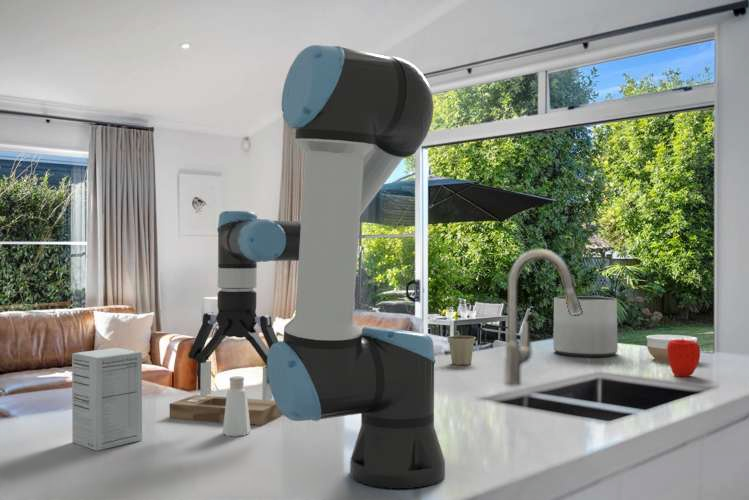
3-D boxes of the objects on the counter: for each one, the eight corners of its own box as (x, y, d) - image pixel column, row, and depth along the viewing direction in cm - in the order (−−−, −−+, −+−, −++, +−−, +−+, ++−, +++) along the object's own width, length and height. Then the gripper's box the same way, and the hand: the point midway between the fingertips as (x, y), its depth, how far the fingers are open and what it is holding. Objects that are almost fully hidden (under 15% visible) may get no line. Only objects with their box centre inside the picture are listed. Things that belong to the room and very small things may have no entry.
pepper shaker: (223, 437, 133) (223, 380, 133) (221, 430, 138) (222, 375, 138) (251, 435, 134) (252, 378, 134) (249, 429, 139) (249, 374, 139)
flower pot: (444, 365, 221) (444, 338, 221) (449, 361, 230) (449, 335, 230) (473, 366, 219) (473, 339, 219) (477, 362, 228) (477, 336, 228)
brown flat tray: (262, 425, 142) (262, 409, 142) (169, 417, 149) (169, 402, 149) (282, 414, 152) (282, 400, 152) (195, 408, 158) (195, 394, 158)
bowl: (635, 358, 238) (635, 335, 238) (674, 356, 243) (674, 333, 243) (668, 365, 223) (668, 340, 223) (708, 363, 228) (708, 338, 228)
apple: (706, 377, 200) (706, 340, 200) (683, 379, 197) (683, 341, 197) (682, 372, 208) (682, 336, 208) (660, 374, 205) (660, 337, 205)
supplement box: (117, 432, 136) (117, 347, 136) (143, 440, 130) (144, 351, 131) (70, 442, 129) (70, 352, 129) (95, 451, 123) (96, 356, 123)
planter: (576, 348, 265) (576, 295, 265) (629, 354, 248) (629, 298, 248) (540, 353, 251) (540, 297, 251) (595, 360, 234) (595, 300, 234)
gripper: (303, 290, 136) (302, 398, 136) (192, 286, 144) (191, 388, 144) (287, 292, 129) (285, 406, 129) (171, 288, 136) (170, 396, 137)
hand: (236, 397), depth 136 cm, fingers open, 13 cm apart
